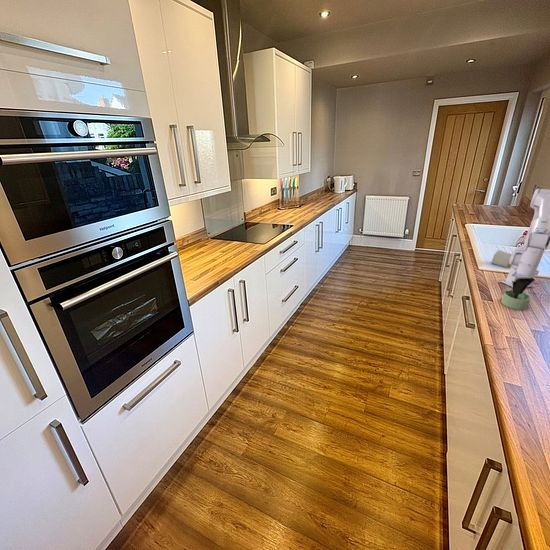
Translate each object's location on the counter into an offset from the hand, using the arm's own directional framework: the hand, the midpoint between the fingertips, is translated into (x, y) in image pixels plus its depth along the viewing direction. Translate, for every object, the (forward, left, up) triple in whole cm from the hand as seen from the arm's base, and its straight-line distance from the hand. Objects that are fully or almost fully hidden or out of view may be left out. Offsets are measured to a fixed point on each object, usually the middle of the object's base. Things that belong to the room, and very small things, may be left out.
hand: (517, 293), depth 119 cm
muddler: (0, 0, -4) cm, 4 cm away
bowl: (-1, 0, -5) cm, 5 cm away
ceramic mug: (-33, -34, -6) cm, 47 cm away
